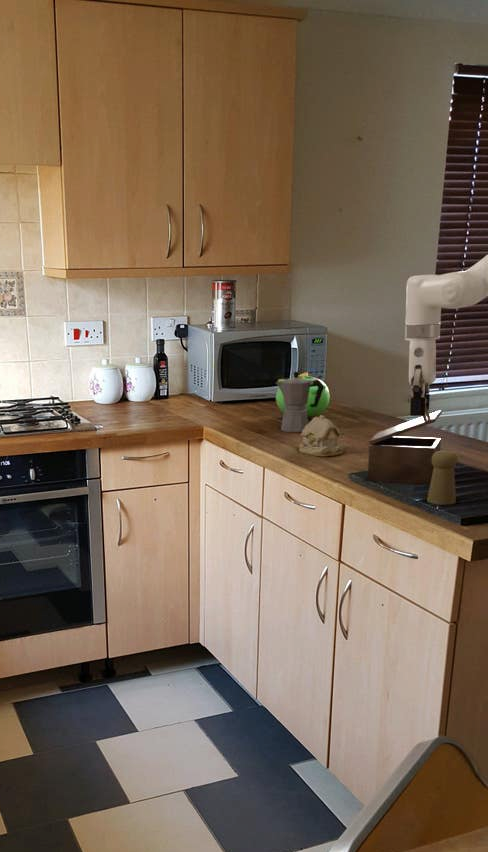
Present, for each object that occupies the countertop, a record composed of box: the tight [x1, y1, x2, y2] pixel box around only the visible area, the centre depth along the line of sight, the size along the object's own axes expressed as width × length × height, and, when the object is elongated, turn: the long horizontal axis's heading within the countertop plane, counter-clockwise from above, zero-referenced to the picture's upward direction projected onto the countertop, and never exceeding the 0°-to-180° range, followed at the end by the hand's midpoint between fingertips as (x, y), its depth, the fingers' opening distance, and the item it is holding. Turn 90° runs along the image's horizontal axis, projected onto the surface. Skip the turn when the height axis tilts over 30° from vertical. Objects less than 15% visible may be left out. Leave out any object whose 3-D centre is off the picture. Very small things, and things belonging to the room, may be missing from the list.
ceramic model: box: [298, 414, 344, 457], centre depth 239 cm, size 14×11×10 cm
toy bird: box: [275, 372, 331, 419], centre depth 295 cm, size 18×17×15 cm
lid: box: [368, 397, 442, 445], centre depth 204 cm, size 15×13×5 cm
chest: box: [367, 435, 442, 486], centre depth 206 cm, size 15×13×9 cm
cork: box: [426, 450, 459, 506], centre depth 184 cm, size 6×6×11 cm
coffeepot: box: [275, 371, 324, 433], centre depth 272 cm, size 15×9×18 cm, turn 63°
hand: (419, 412), depth 202 cm, fingers closed on lid, 6 cm apart
